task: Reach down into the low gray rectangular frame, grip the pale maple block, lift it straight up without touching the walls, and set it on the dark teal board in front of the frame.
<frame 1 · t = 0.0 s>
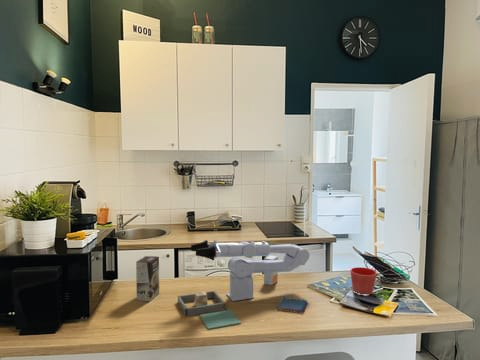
hand: (193, 250, 146), 22 cm above the countertop, tool horizontal, fingers open, 7 cm apart
gray rectangular frame: (201, 305, 145), on the countertop
dark blue flat block: (292, 308, 145), on the countertop
teal board: (219, 319, 133), on the countertop
flower pot: (362, 293, 158), on the countertop
coffee box: (148, 297, 155), on the countertop
maple block: (200, 299, 145), in the gray rectangular frame
skincare box: (270, 283, 171), on the countertop
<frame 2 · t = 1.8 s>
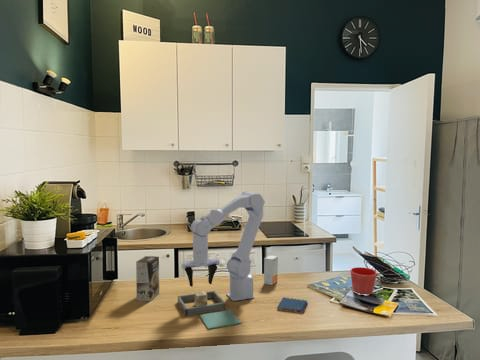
hand: (200, 284, 145), 9 cm above the countertop, tool pointing down, fingers open, 7 cm apart
nothing on the countertop moved.
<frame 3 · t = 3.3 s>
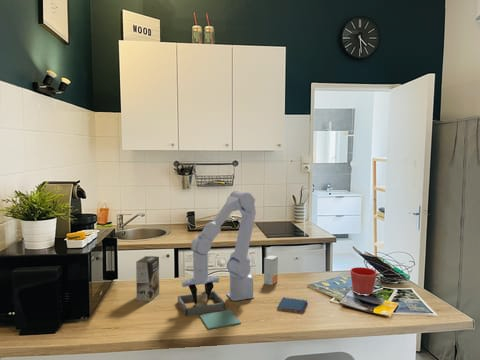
hand: (200, 302, 145), 1 cm above the countertop, tool pointing down, fingers closed on maple block, 4 cm apart
maple block: (200, 299, 145), in the gray rectangular frame, touching gripper
everything else where it was.
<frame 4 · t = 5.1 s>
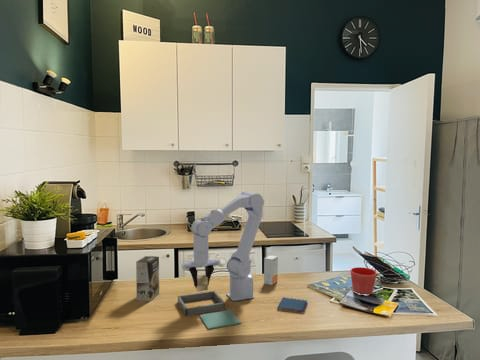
hand: (201, 285, 144), 8 cm above the countertop, tool pointing down, fingers closed on maple block, 4 cm apart
maple block: (201, 282, 144), point 9 cm above the countertop, touching gripper
everything else where it was.
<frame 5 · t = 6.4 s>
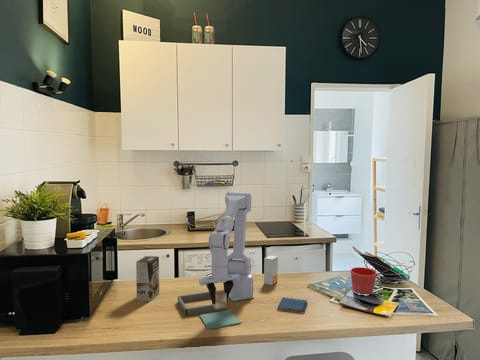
hand: (219, 302, 133), 7 cm above the countertop, tool pointing down, fingers closed on maple block, 4 cm apart
maple block: (219, 299, 133), point 8 cm above the countertop, touching gripper
everything else where it was.
when the fingers open (3 cm above the countertop, at t = 7.4 s): maple block stays where it is, resting on teal board.
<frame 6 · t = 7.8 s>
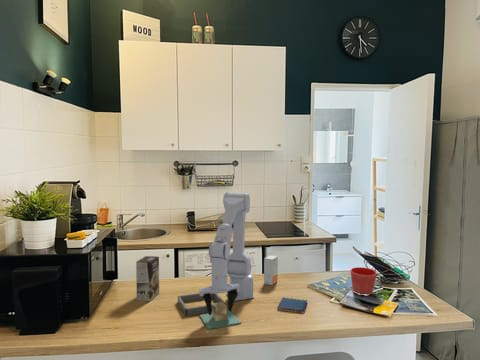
hand: (219, 312, 133), 3 cm above the countertop, tool pointing down, fingers open, 7 cm apart
maple block: (219, 311, 133), on the teal board
everything else where it was.
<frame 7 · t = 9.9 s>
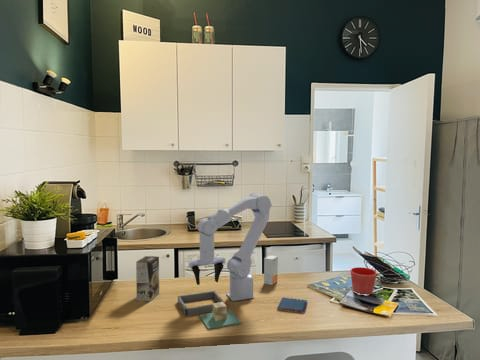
hand: (207, 282, 147), 8 cm above the countertop, tool pointing down, fingers open, 7 cm apart
nothing on the countertop moved.
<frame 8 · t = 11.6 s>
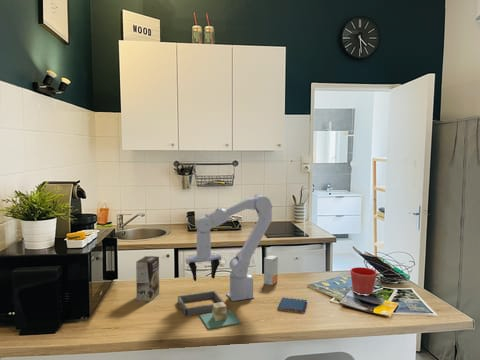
hand: (204, 279, 151), 8 cm above the countertop, tool pointing down, fingers open, 7 cm apart
nothing on the countertop moved.
at the end: maple block inside the target area (0.4 cm from its centre), point 3.0 cm above the countertop; maple block tilted 0°; the gripper is holding nothing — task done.
